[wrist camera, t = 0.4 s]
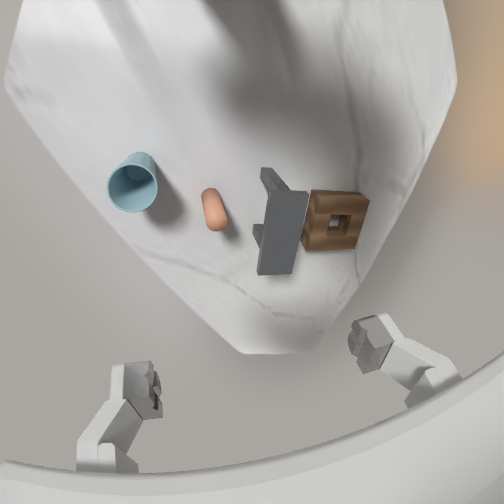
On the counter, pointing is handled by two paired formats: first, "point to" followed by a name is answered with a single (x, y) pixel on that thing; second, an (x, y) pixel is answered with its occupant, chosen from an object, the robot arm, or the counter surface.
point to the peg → (214, 210)
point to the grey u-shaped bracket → (279, 225)
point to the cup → (133, 183)
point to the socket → (319, 216)
